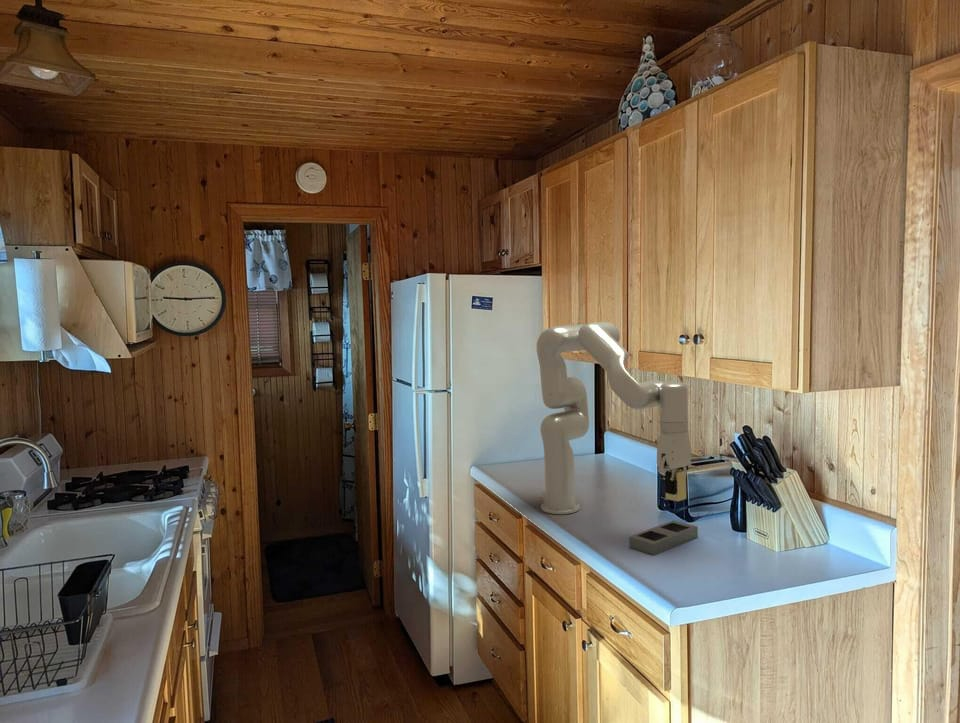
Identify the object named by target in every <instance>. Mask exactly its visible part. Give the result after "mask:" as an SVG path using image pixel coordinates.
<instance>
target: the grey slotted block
mask: <svg viewBox="0 0 960 723" xmlns="http://www.w3.org/2000/svg"><path fill="white" fill-rule="evenodd" d="M698 532H699V530H698V526H696V525H693V524H689V523H685V522H681V521H678V520H674V519H673V520H671V521H668V522H665V523H662V524H660V525H658V526H654V527H652V528H650V529H646V530H644V531H640V532H638V533H636V534H633V535H630V536H629V537H628V540H629V541H628V542H629V545H628V547H629V548H630V549H633V550H635V551H636V550H637V551H640V552H643V553H646V554H649V555H652V556H656V555H658V554H660V553H663V552H665V551H667V550H670V549H672V548H674V547H676V546H680V545H682V544H684V543H686V542H689V541H691V540H694V539H696V538H698V536H699V534H698Z"/></svg>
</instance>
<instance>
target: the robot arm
mask: <svg viewBox="0 0 960 723" xmlns="http://www.w3.org/2000/svg"><path fill="white" fill-rule="evenodd" d="M620 340H621V334H620V331H619V329H618V327H617V326H616V325H615V324H614V323H613V322H610V321H596V322H588V323H583V324H582V323H580V324H566V325H565V324H564V325H555V326H551V327H548V328H546V329H544V330H543V331H542V332H541V333H540V335H539V337H538V338H537V342H536V354H537V359H538V364H539V370H540V371H539V372H540V385H541V396H542V401H543V404H544V405H545V407H547V408H548V409H552V410H556V409H563V410H564V411H559V412H555V413H550V414H548V415H546V416H545V417H544V418H543V420H542V421H541V423H540V434H541V438H542V445H543V455H544V456H543V458H544V486H545V487H544V489H545V490H543V491H541V494H538V498H539V499H541V500H543V502H542V503H541V506H540V510H542V512H545V513H547V514H552V515H569V514H574V513H576V512H579V510H580V509H581V508H580V507H581V505H580V504H579V503H578V502H576V501H575V499H576V498H575V496H576V494H575V493H576V492H575V489H576V488H575V456H574V451H573V449H572V446H571V444H570V441H571V440H576V439H579V438H582V437H584V436H585V435H586V434H587V433H588V431H589V427H590V426H589V425H590V418H589V404H588V395H587V394H588V392H587V390H586V387H585V384H584V383H583V382H582V381H581V380H580V379H579V378H576V377H572V376H571V377H569V376H568V371H567V369H568V368H567V365H566V362H565V360H564V358H563V356H562V353H567V352H570V353H571V352H576V351H577V352H578V351H586V352H587V354H589V355H590V357H592V358H593V359H594V361H595V362H597V363H598V364H599V365H600V366H601V367H602V368H603V370H604V371H605V372H606V378H607V381H608V384H609V386H610V388H611V390H612V392H614V394H615V395H616V396H617V397H618V398H619V400H620V401H622V402H623V403H624V404H625V405H626V406H628V407H629V408H631V409H633V410H638V411H640V410H646V409H649V408H654V407H659V429H660V430H659V431H660V432H659V433H658V437H657V438H658V440H657V445H656V465H657V468H658V469H657V473H659V474H661V475H662V478H663V480H664V492H665V493H664V494H666V493H668V494H672V495H675V494H676V480H674V475H675V469H681V470H686V477H688V471H689V468H690V466H691V465H692V461H691V460H692V452H691V450H692V449H691V440H690V434H689V402H688V398H689V396H688V387H687V385H686V383H684V382H676V381H675V382H673V381H672V382H667V381H662V380H656V379H652V380H647V381H641V382H638V381H637V380H636V379H634V377H632V376H631V375H630V373H629V372H628V371H627V369H626V368H625V364H626V363H627V362H628V360H629V353H628V352H629V351H627V349H625V348H624V347H623V346H622V345H621V343H619V342H620ZM668 471H671V473H669V472H668Z"/></svg>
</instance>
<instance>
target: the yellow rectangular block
mask: <svg viewBox="0 0 960 723" xmlns="http://www.w3.org/2000/svg"><path fill="white" fill-rule="evenodd" d="M668 472H669V473H671V471H668ZM674 480H676V494H675V495H672V494H668V493H665V500H670V501H675V502H680V501H684V500H686V499H687V476H686V470H681V469H675V475H674Z"/></svg>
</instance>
